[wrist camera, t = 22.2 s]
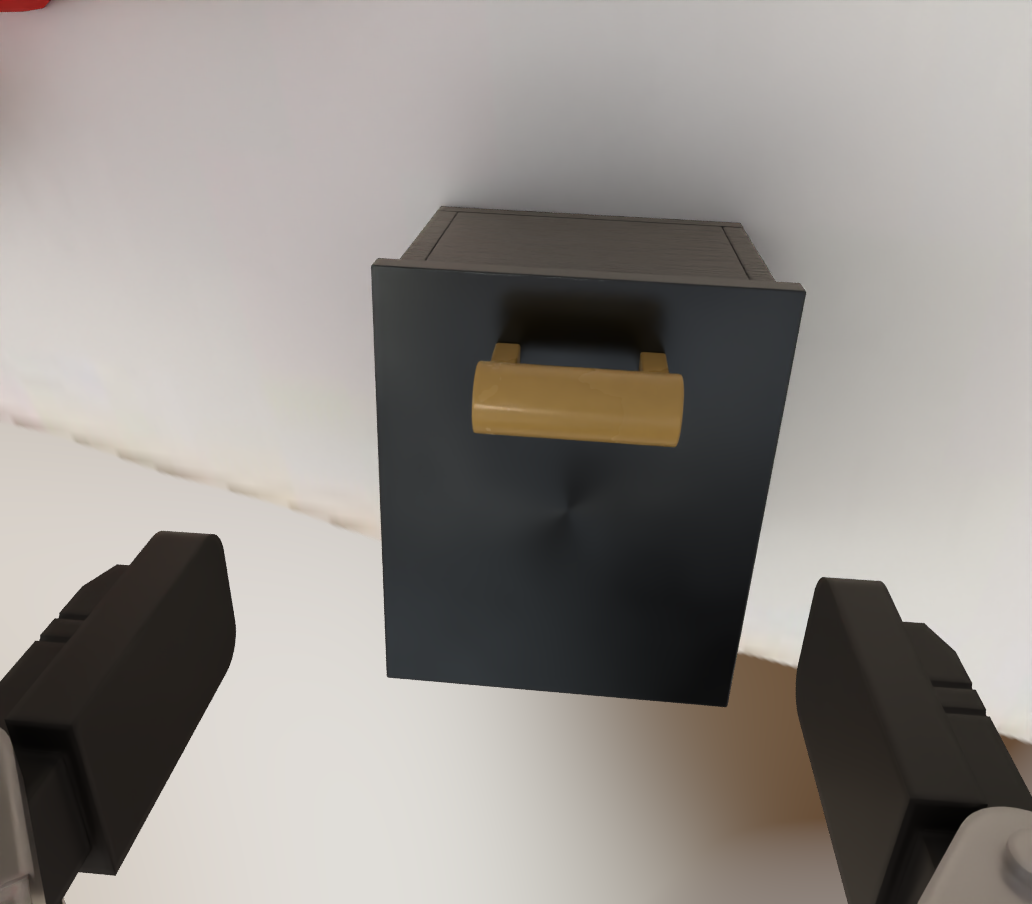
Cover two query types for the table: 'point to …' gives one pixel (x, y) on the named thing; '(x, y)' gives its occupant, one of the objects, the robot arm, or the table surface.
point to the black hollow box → (589, 243)
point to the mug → (21, 5)
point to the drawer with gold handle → (574, 472)
